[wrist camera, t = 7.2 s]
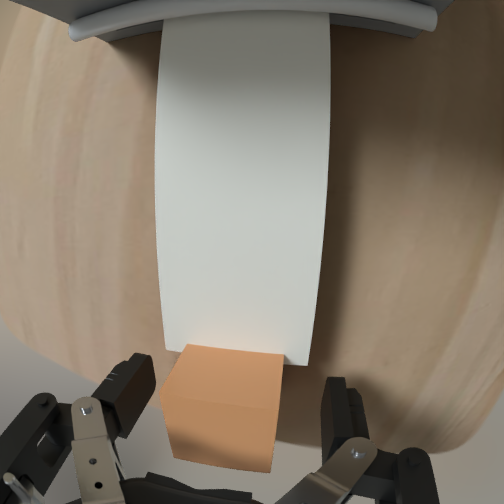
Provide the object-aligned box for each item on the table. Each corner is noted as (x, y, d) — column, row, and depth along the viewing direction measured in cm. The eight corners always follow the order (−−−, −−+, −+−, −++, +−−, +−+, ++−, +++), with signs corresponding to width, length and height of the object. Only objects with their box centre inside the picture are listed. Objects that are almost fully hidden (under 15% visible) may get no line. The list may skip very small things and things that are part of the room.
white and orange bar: (186, -19, 10) (141, -76, 5) (322, -24, 9) (330, -94, 4) (185, 383, 15) (151, 452, 11) (298, 397, 15) (294, 474, 10)
